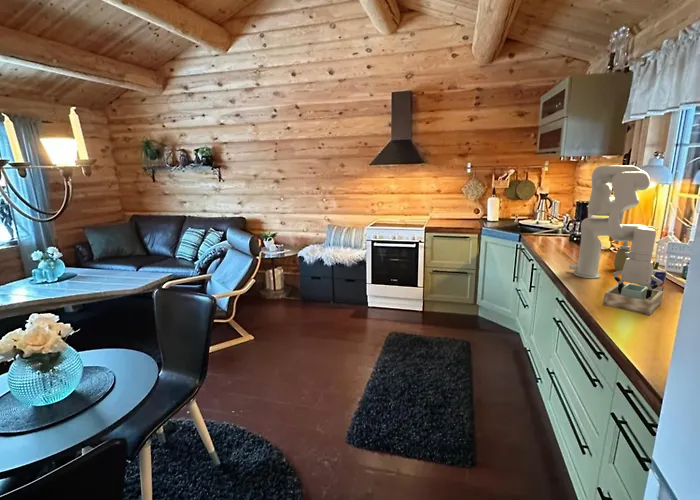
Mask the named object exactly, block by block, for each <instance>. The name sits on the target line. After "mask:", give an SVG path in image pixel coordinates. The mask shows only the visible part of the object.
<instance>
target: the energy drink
mask: <svg viewBox="0 0 700 500" xmlns="http://www.w3.org/2000/svg"><path fill="white" fill-rule="evenodd" d="M653 276H655V277H657V278H658V279H660V280H661V281H662V283H661V284H660V285H659V286H658V287H657V288H655V289H654V290H659V291H663V292H664V288H665V283H666V280H667V279H666V278H667V271H666V270H663V269H660V268H658V269H653ZM656 283H657V282H656V281H654V280H653V279H652V282H651V284H652V285H655V284H656Z"/></svg>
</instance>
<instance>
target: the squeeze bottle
mask: <svg viewBox="0 0 700 500" xmlns="http://www.w3.org/2000/svg"><path fill="white" fill-rule="evenodd" d="M630 249H631V245H629V242H624V241H623V243H622V244H621V245H619V248H618V249H617V251H616V254H615V258H614V261H613V267H614V270H615V272H617V271H622V270H623V267H624V264H625V261H626V259H627V258H629V257H628V256H627V255H626V252H630Z"/></svg>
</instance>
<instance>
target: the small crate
mask: <svg viewBox="0 0 700 500" xmlns="http://www.w3.org/2000/svg"><path fill="white" fill-rule="evenodd" d="M626 284H627V285H625V286H624V287H623V288H622V290H621V295H622V296H627V297H631V298H636V299H641V300H645V299H646V293H647V289H648V288H647V286H646V285H640V284H634V283H629V282H627V283H626Z"/></svg>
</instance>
